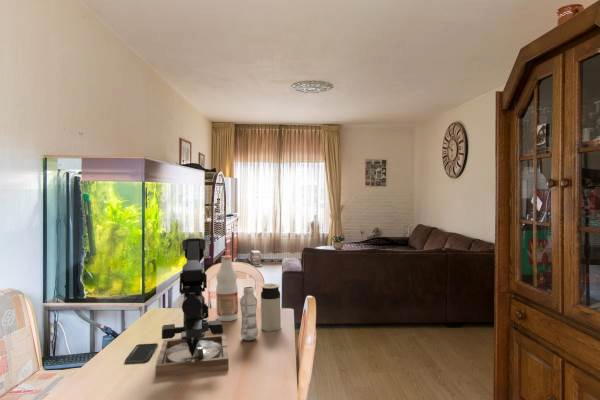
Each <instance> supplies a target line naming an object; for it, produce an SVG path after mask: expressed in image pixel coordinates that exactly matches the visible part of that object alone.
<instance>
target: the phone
mask: <svg viewBox="0 0 600 400" xmlns="http://www.w3.org/2000/svg"><path fill="white" fill-rule="evenodd" d="M158 347H159V343H157V342H156V343H155V342H154V343H139V344H136V345H135V346H134V348H133V349H132V350H131V352H129V354H128V355H127V356H126V358H125V359H124V363H125V364H126V363H127V364H130V363H131V364H143V363H148V362H150V360H151V358H152V357H153V355H154V354H155V352H156V350H157V349H158ZM127 364H126V365H127Z"/></svg>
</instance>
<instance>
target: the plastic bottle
mask: <svg viewBox="0 0 600 400" xmlns="http://www.w3.org/2000/svg"><path fill="white" fill-rule="evenodd" d="M239 305H240V312H241V327H240V332H239V333H240V338H241V339H242V340H244V341H253V340H256V339H257V337H258V335H259V331H258V325H257V307H258V306H257V305H258V300H257V297H256V295H254V286H244V287H243V295H242V296H241V298H240V300H239Z"/></svg>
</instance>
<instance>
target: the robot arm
mask: <svg viewBox="0 0 600 400" xmlns="http://www.w3.org/2000/svg"><path fill="white" fill-rule="evenodd" d="M181 245H182V248H181V249H182V252H184V258H185V259H186V263H185V264H184V265H182V271H181V272H180V273H179V293H180V294H183V301H182V304H181V310H182V312H183V326H179V327H178V326H176V324H175V323H172V324H163V325H162V326H161V339H162V340H170V339H174V337H175V336H176V334H180V335H181V336H180V339H181V338H182V339H183V340H184V339H185V340H186V342H187V344H188V346H189V349H190V353H191V356H193V354H194V352H195V349H196V346H197V343H198V341H199V340H200V338H203V337H204V336H206V335H205V333H206V332H209V331H210V333H211V335H222V334H223V333H224V325H223V323H222V321H220V320H218V319H217V320H209V319H208V318H209V317H210V316H209V306H208V304H207V303H206V301H205V300H206V299H205V296H204V295H203V292H206V289H207V288H208V287H207V286H208V284H207V283H208V282H207V281H208V280H207V279H208V277H207V274H206V272H205V271H203V264H201V261H202V259H203V258H204V256H205V254H204V253H205V251H206V250H207V249H206V247H207V246H206V239H205V238H204V239H203V238H201V237H198V236H197V237H196V236H195V237H188V238H186V239H183V240H182V244H181ZM191 338H193V341H192V339H191Z"/></svg>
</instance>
